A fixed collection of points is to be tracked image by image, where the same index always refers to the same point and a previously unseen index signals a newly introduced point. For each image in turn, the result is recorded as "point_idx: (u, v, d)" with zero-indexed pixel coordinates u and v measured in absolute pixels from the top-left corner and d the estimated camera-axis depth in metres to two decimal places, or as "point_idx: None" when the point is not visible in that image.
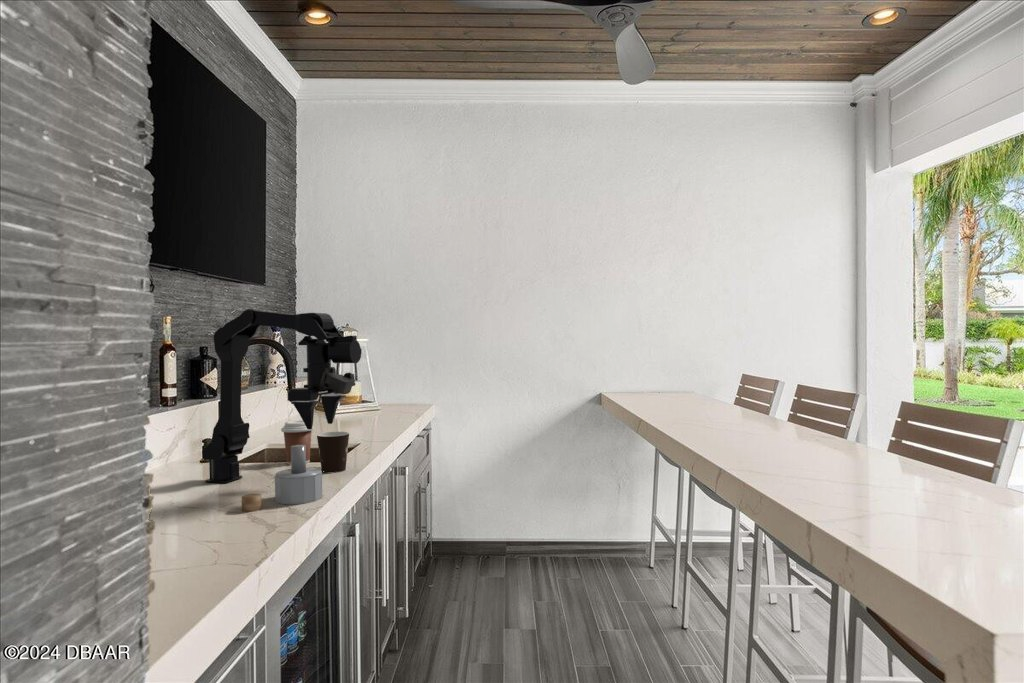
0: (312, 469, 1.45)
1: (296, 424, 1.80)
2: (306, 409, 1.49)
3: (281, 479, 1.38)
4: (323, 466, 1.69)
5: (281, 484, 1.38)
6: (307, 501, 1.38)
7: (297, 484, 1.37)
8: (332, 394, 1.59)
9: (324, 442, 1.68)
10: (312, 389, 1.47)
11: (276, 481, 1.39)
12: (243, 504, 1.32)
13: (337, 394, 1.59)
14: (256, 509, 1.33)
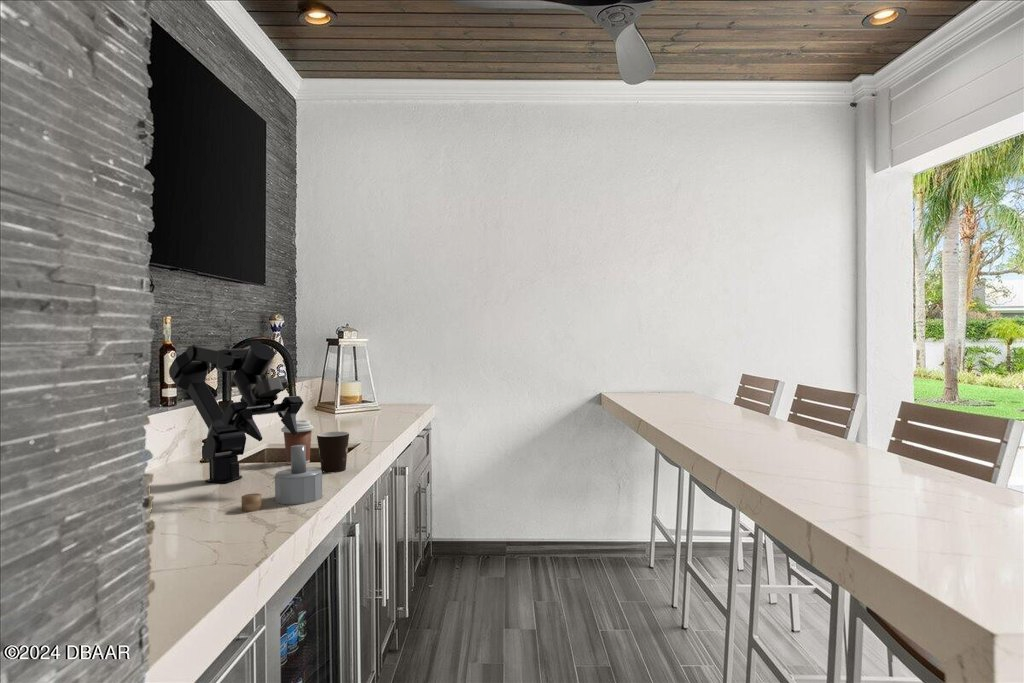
0: (312, 469, 1.45)
1: (296, 424, 1.80)
2: (247, 424, 1.44)
3: (281, 479, 1.38)
4: (323, 466, 1.69)
5: (281, 484, 1.38)
6: (307, 501, 1.38)
7: (297, 484, 1.37)
8: (286, 410, 1.54)
9: (324, 442, 1.68)
10: (238, 402, 1.44)
11: (276, 481, 1.39)
12: (243, 504, 1.32)
13: None
14: (256, 509, 1.33)
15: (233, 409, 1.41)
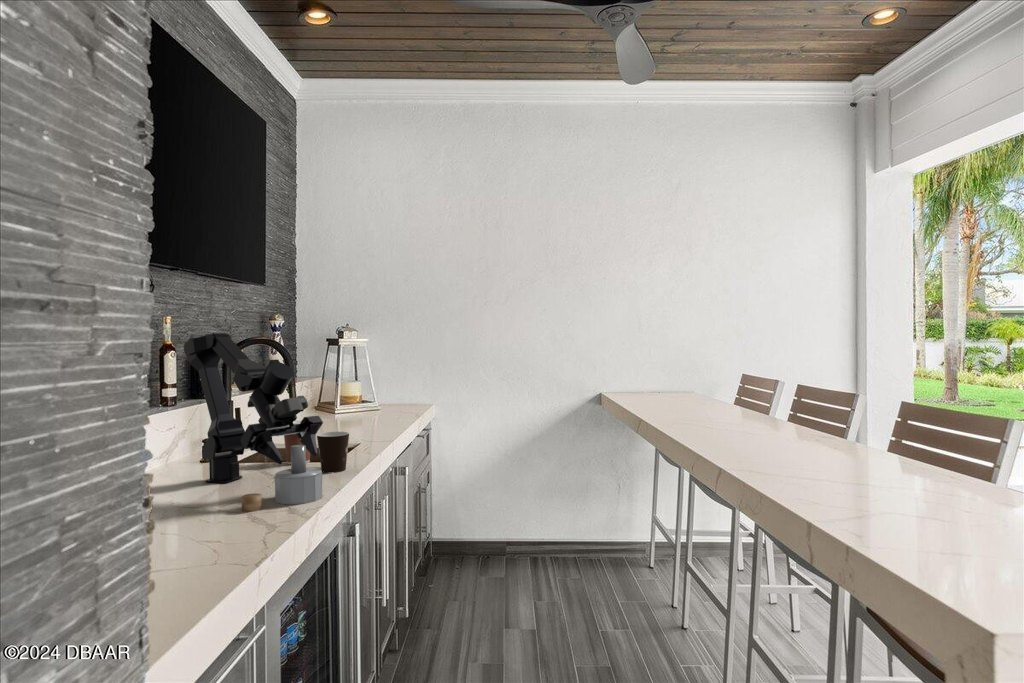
0: (312, 469, 1.45)
1: None
2: (267, 446, 1.39)
3: (281, 479, 1.38)
4: (323, 466, 1.69)
5: (281, 484, 1.38)
6: (307, 501, 1.38)
7: (297, 484, 1.37)
8: (305, 430, 1.49)
9: (324, 442, 1.68)
10: (257, 423, 1.39)
11: (276, 481, 1.39)
12: (243, 504, 1.32)
13: None
14: (256, 509, 1.33)
15: (252, 431, 1.37)
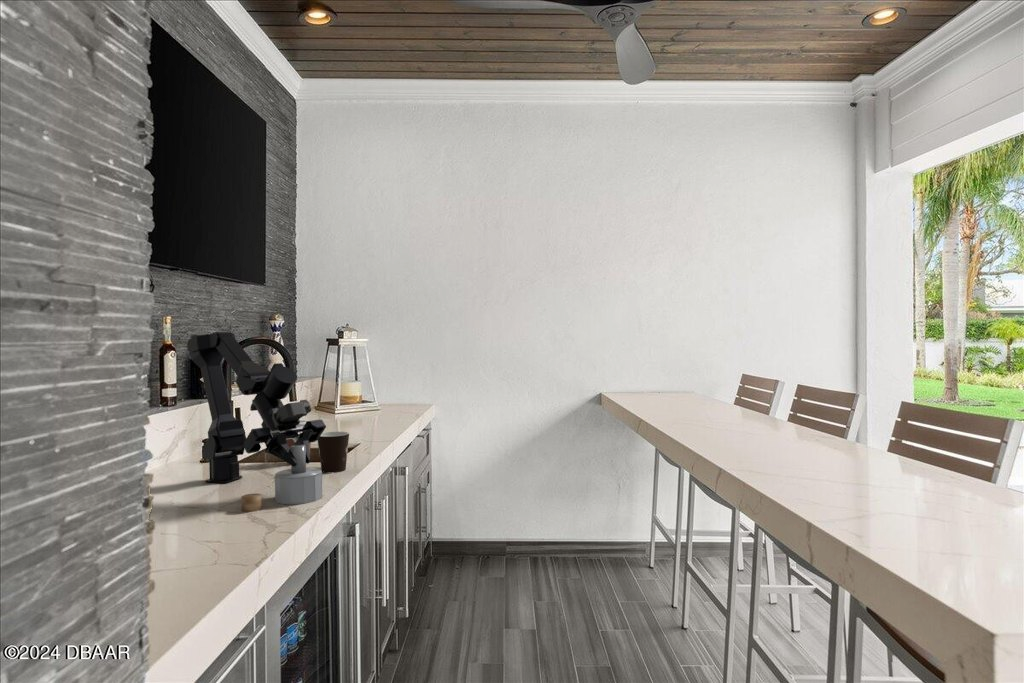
0: (312, 469, 1.45)
1: None
2: (281, 449, 1.41)
3: (281, 479, 1.38)
4: (323, 466, 1.69)
5: (281, 484, 1.38)
6: (307, 501, 1.38)
7: (297, 484, 1.37)
8: (298, 436, 1.46)
9: (324, 442, 1.68)
10: (260, 428, 1.39)
11: (276, 481, 1.39)
12: (243, 504, 1.32)
13: (302, 433, 1.46)
14: (256, 509, 1.33)
15: (255, 436, 1.36)
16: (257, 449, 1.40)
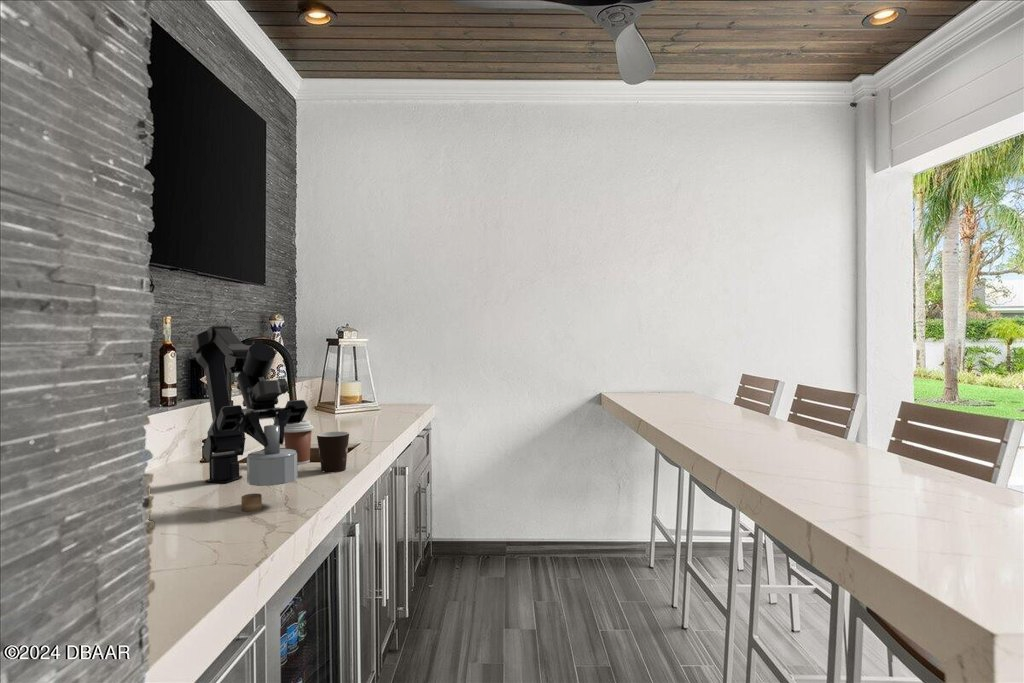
0: (288, 451, 1.39)
1: (296, 424, 1.80)
2: (254, 428, 1.36)
3: (250, 459, 1.33)
4: (323, 466, 1.69)
5: (250, 464, 1.33)
6: (275, 483, 1.33)
7: (265, 466, 1.32)
8: (276, 416, 1.41)
9: (324, 442, 1.68)
10: None
11: (247, 461, 1.35)
12: (243, 504, 1.32)
13: None
14: (256, 509, 1.33)
15: (224, 413, 1.32)
16: (231, 427, 1.37)
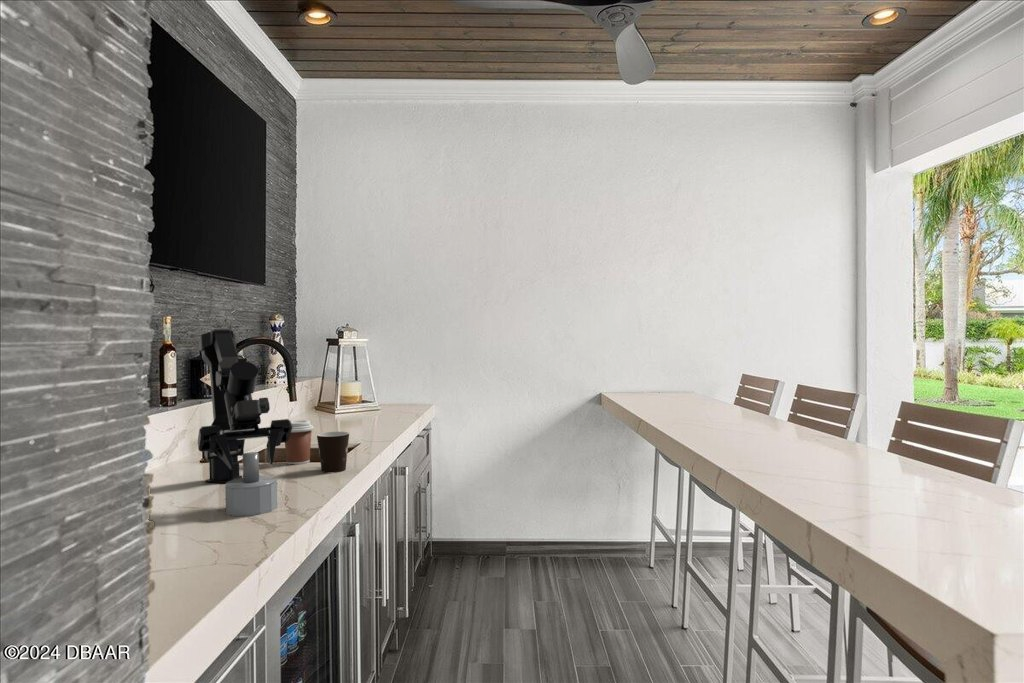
0: (268, 479, 1.36)
1: (296, 424, 1.80)
2: None
3: (226, 488, 1.30)
4: (323, 466, 1.69)
5: (226, 493, 1.30)
6: (250, 514, 1.29)
7: (239, 495, 1.29)
8: None
9: (324, 442, 1.68)
10: (211, 425, 1.33)
11: (225, 489, 1.32)
12: None
13: None
14: None
15: (201, 434, 1.30)
16: None
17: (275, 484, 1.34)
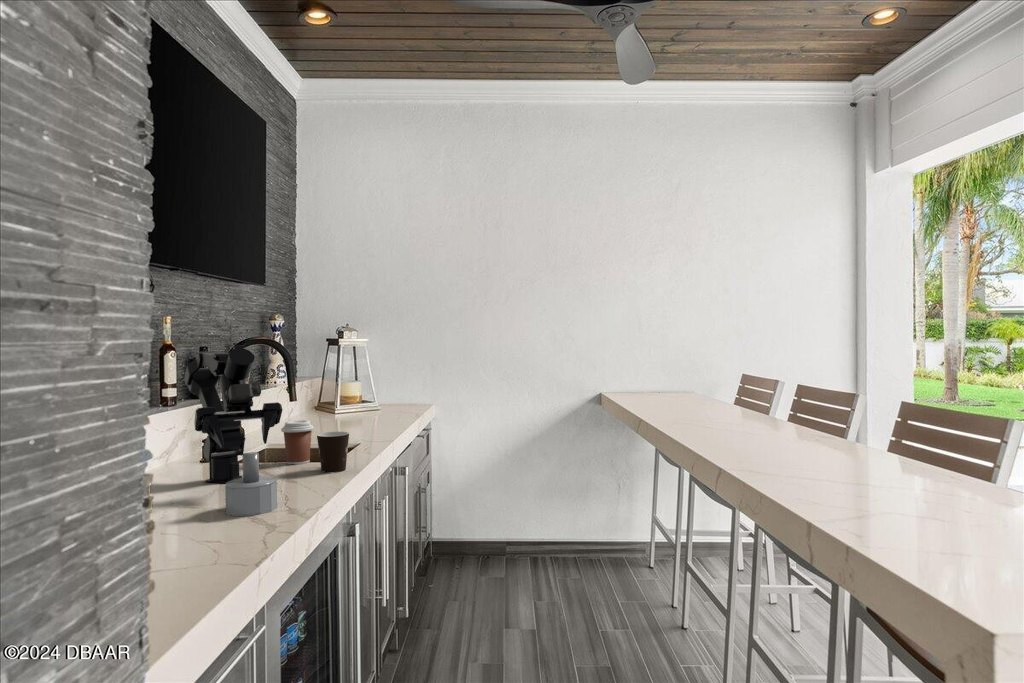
0: (268, 479, 1.36)
1: (296, 424, 1.80)
2: (214, 430, 1.43)
3: (226, 488, 1.30)
4: (323, 466, 1.69)
5: (226, 493, 1.30)
6: (250, 514, 1.29)
7: (239, 495, 1.29)
8: (264, 416, 1.50)
9: (324, 442, 1.68)
10: (207, 407, 1.43)
11: (225, 489, 1.32)
12: None
13: None
14: None
15: (197, 415, 1.41)
16: None
17: (275, 484, 1.34)
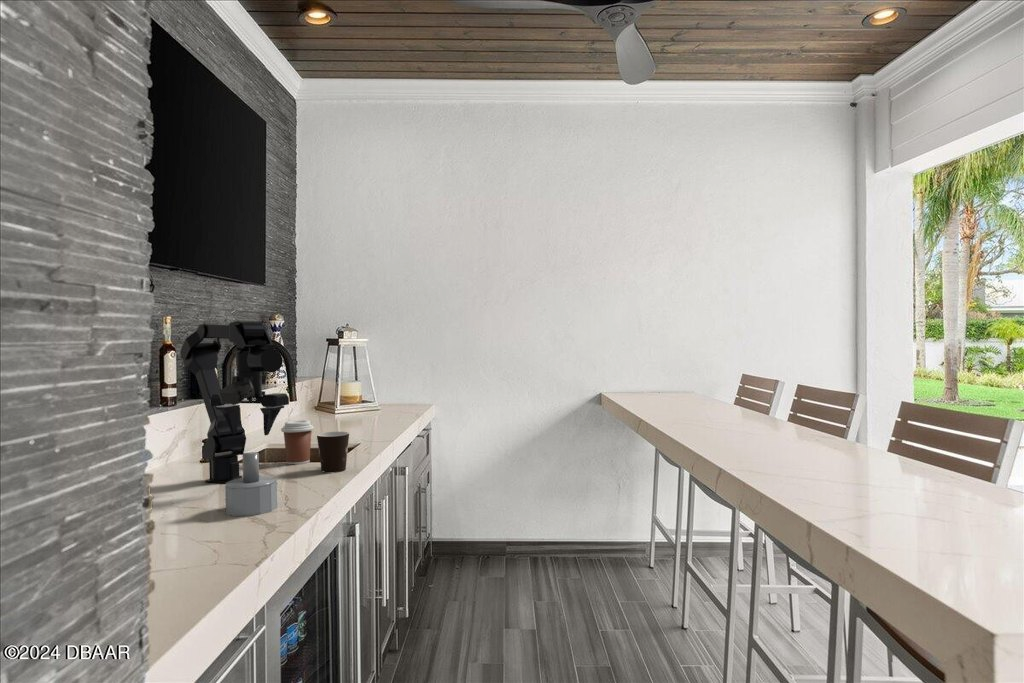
0: (268, 479, 1.36)
1: (296, 424, 1.80)
2: None
3: (226, 488, 1.30)
4: (323, 466, 1.69)
5: (226, 493, 1.30)
6: (250, 514, 1.29)
7: (239, 495, 1.29)
8: None
9: (324, 442, 1.68)
10: (218, 395, 1.53)
11: (225, 489, 1.32)
12: None
13: None
14: None
15: (210, 404, 1.53)
16: None
17: (275, 484, 1.34)
